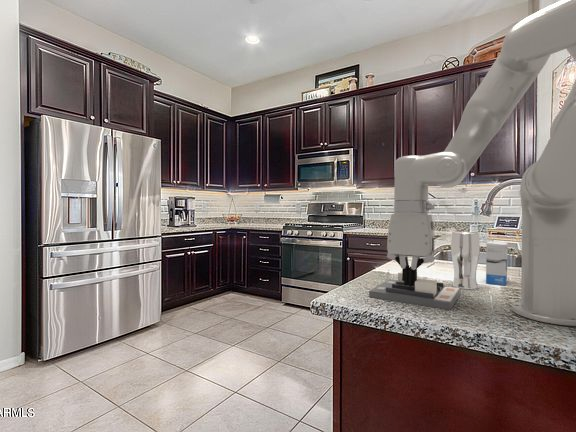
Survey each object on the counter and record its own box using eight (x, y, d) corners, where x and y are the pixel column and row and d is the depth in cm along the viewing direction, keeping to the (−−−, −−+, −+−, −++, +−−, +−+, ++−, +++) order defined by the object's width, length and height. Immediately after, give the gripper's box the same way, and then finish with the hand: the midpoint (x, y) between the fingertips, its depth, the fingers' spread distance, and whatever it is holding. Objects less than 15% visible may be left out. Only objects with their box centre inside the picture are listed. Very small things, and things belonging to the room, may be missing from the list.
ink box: (506, 286, 89) (506, 244, 89) (485, 283, 92) (485, 242, 92) (507, 280, 96) (508, 241, 96) (488, 278, 99) (488, 240, 99)
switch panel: (460, 293, 81) (460, 283, 81) (450, 309, 68) (450, 298, 68) (389, 284, 91) (389, 275, 91) (369, 297, 78) (369, 286, 78)
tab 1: (417, 283, 85) (417, 272, 85) (413, 286, 82) (413, 274, 82) (401, 281, 87) (401, 270, 87) (397, 284, 84) (397, 272, 84)
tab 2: (436, 293, 75) (436, 280, 75) (433, 296, 72) (433, 283, 72) (418, 291, 77) (418, 278, 77) (414, 294, 74) (414, 281, 74)
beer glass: (472, 284, 92) (472, 232, 91) (484, 290, 85) (484, 233, 84) (446, 283, 92) (447, 231, 92) (457, 289, 85) (457, 233, 85)
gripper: (447, 208, 75) (446, 286, 75) (384, 208, 84) (383, 278, 84) (442, 208, 69) (440, 293, 69) (374, 208, 77) (373, 283, 78)
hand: (409, 284), depth 77 cm, fingers closed
